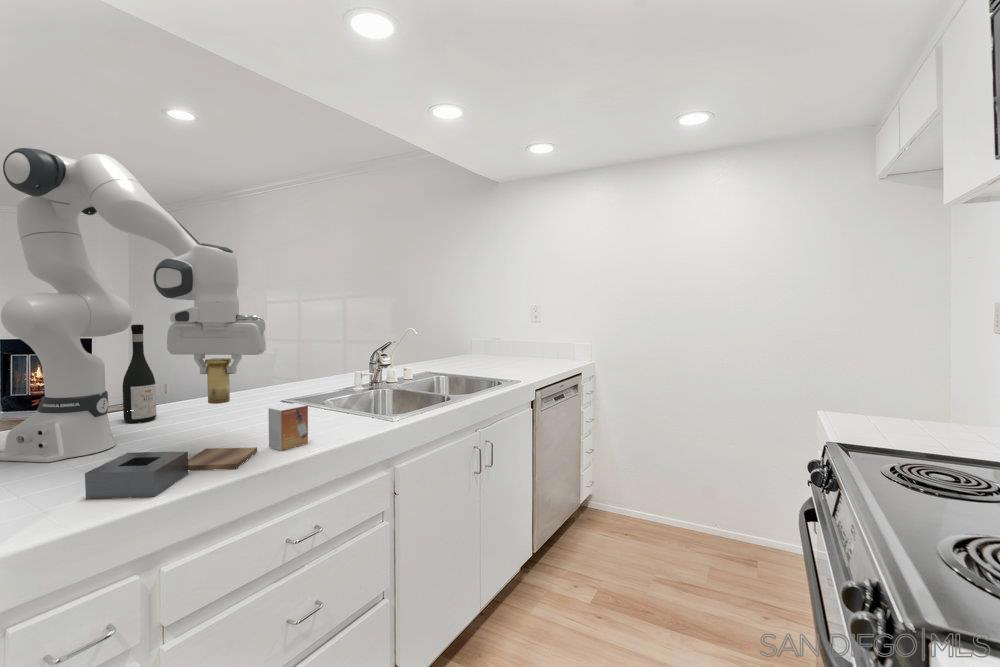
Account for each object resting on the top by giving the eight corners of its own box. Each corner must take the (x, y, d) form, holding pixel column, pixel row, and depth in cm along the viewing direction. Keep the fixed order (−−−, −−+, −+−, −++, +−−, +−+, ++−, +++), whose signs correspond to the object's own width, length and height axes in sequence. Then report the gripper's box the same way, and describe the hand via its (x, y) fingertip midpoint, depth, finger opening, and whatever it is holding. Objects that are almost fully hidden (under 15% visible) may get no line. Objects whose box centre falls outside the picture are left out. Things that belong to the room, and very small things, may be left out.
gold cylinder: (201, 404, 105) (200, 360, 104) (212, 399, 110) (211, 358, 109) (225, 403, 105) (224, 360, 105) (235, 399, 110) (234, 358, 110)
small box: (281, 451, 116) (280, 410, 115) (268, 447, 119) (267, 407, 118) (308, 443, 123) (308, 405, 122) (296, 440, 126) (295, 402, 125)
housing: (85, 499, 87) (84, 473, 86) (128, 475, 99) (127, 452, 98) (154, 496, 88) (154, 471, 88) (188, 473, 100) (187, 451, 100)
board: (178, 470, 102) (178, 465, 102) (206, 453, 114) (205, 448, 114) (236, 469, 103) (236, 464, 103) (257, 452, 115) (257, 447, 115)
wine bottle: (162, 419, 145) (159, 324, 143) (134, 425, 137) (131, 325, 136) (145, 416, 148) (142, 323, 146) (117, 422, 140) (114, 324, 138)
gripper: (269, 315, 111) (270, 371, 112) (177, 313, 108) (179, 371, 109) (259, 315, 104) (260, 375, 105) (161, 314, 102) (163, 376, 103)
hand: (218, 373), depth 107 cm, fingers closed on gold cylinder, 4 cm apart
